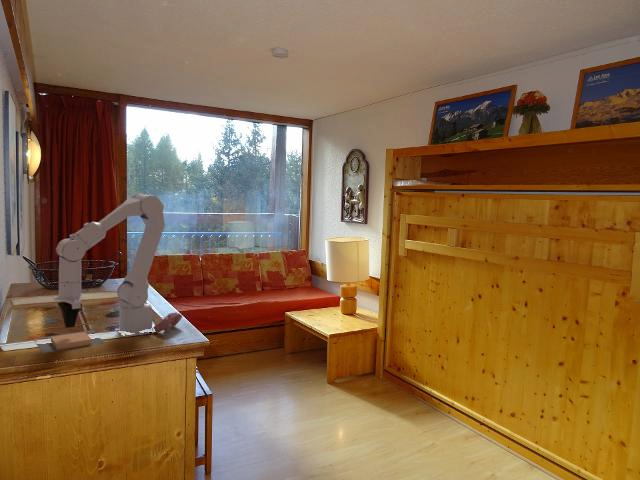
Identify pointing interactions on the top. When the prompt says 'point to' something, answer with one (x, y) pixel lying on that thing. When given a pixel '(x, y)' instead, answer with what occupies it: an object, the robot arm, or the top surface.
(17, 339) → the top surface
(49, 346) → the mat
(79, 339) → the tile
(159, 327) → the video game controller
